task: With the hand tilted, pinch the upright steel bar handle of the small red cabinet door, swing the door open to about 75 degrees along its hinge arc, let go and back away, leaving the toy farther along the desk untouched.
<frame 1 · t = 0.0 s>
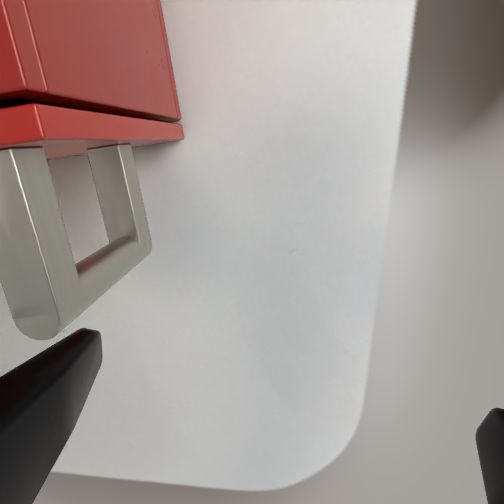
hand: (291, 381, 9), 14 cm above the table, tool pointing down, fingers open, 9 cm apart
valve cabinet: (57, 37, 21), on the table
red cabinet door: (21, 213, 16), point 7 cm above the table, hinge at 0.0°
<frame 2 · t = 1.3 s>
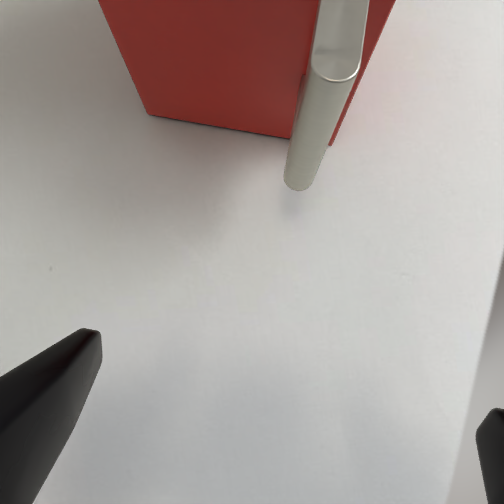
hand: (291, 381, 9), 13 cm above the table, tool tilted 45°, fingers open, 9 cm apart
red cabinet door: (226, 96, 17), point 7 cm above the table, hinge at 0.0°
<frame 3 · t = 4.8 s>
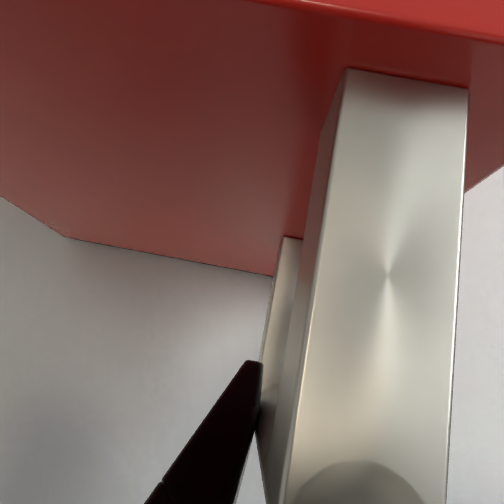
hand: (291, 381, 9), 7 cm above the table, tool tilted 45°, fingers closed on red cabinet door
red cabinet door: (146, 289, 10), point 7 cm above the table, hinge at 0.0°, touching gripper
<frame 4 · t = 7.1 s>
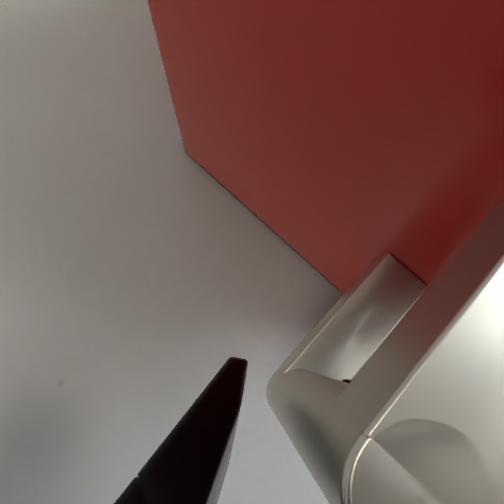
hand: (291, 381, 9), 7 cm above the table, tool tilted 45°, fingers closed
red cabinet door: (251, 225, 10), point 7 cm above the table, hinge at 34.6°, touching gripper
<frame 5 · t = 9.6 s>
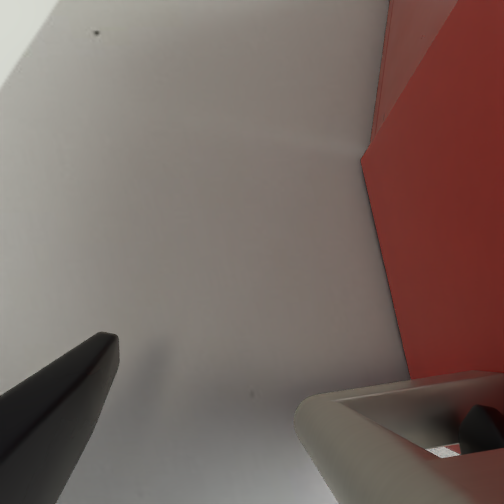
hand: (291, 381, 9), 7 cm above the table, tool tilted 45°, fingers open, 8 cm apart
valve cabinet: (500, 78, 19), on the table
red cabinet door: (398, 256, 10), point 7 cm above the table, hinge at 70.5°, touching gripper
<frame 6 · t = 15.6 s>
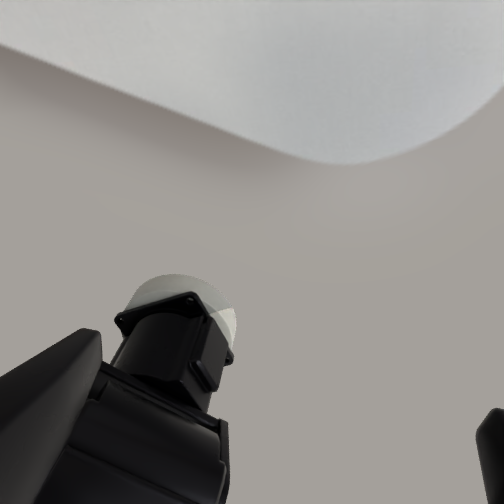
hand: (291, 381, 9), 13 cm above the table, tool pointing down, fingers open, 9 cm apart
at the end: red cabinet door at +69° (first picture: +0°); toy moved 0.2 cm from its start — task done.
